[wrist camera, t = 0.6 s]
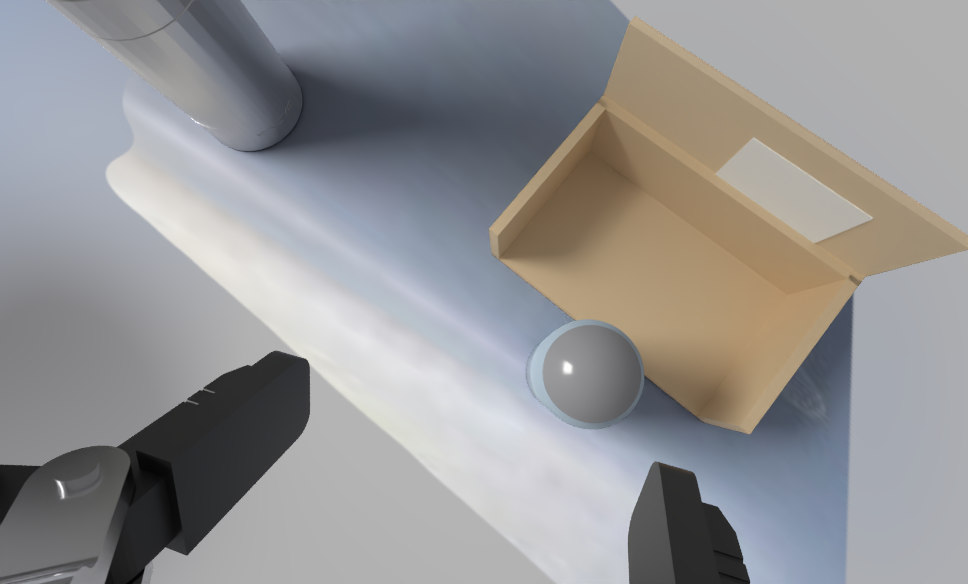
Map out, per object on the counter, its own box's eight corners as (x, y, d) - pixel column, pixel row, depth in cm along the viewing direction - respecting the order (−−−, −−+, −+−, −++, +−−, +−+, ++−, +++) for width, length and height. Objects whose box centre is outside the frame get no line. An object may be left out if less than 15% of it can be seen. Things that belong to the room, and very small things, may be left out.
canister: (510, 377, 37) (513, 380, 25) (556, 321, 38) (582, 295, 25) (569, 426, 36) (602, 455, 24) (614, 367, 37) (671, 365, 24)
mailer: (491, 254, 39) (484, 190, 25) (591, 136, 40) (635, 15, 27) (703, 422, 36) (825, 453, 22) (802, 289, 37) (976, 240, 24)
